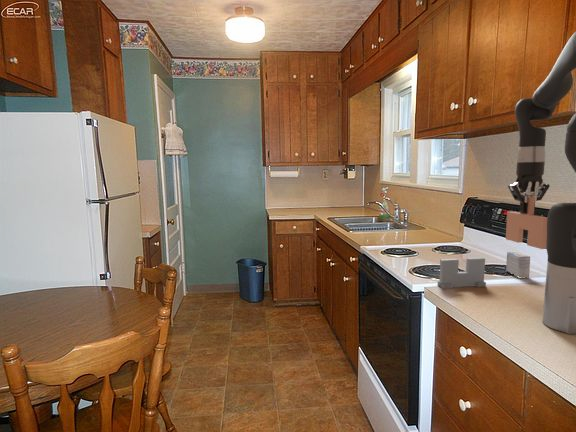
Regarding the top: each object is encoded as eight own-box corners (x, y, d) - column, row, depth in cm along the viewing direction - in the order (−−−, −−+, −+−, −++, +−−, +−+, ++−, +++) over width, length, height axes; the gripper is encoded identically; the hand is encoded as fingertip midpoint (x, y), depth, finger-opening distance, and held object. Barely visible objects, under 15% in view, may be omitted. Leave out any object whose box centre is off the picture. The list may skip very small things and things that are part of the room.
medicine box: (529, 278, 134) (531, 256, 133) (517, 278, 134) (519, 256, 133) (516, 272, 142) (518, 251, 141) (505, 272, 142) (506, 251, 141)
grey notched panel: (478, 282, 130) (480, 256, 129) (485, 286, 126) (487, 259, 125) (437, 285, 129) (438, 258, 127) (443, 288, 125) (444, 261, 123)
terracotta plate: (546, 248, 111) (550, 198, 109) (541, 249, 111) (545, 198, 109) (509, 239, 127) (512, 194, 125) (505, 239, 127) (508, 194, 125)
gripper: (519, 161, 111) (516, 215, 113) (559, 160, 112) (555, 214, 115) (503, 161, 118) (499, 212, 121) (540, 160, 120) (536, 211, 122)
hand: (526, 213), depth 118 cm, fingers closed on terracotta plate, 1 cm apart
